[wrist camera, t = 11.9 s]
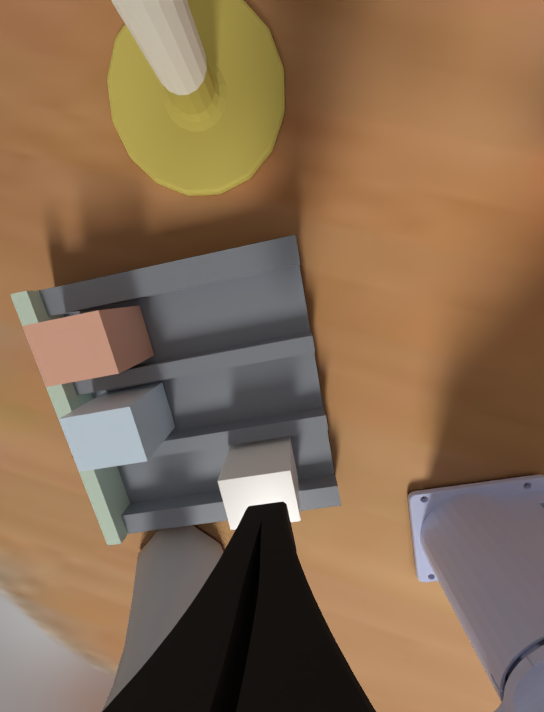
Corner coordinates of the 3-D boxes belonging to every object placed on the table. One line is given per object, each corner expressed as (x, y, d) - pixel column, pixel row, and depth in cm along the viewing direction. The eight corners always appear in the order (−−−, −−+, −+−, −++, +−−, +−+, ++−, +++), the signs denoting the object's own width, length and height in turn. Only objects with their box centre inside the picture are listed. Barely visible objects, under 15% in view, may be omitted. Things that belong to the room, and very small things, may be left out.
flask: (124, 547, 24) (12, 728, 14) (194, 508, 22) (124, 675, 13) (178, 606, 25) (108, 811, 15) (246, 572, 24) (220, 770, 14)
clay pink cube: (139, 305, 18) (98, 310, 14) (154, 355, 18) (119, 373, 14) (79, 317, 18) (22, 325, 14) (96, 366, 19) (46, 387, 15)
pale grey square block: (289, 433, 19) (290, 470, 15) (297, 475, 20) (300, 521, 16) (231, 442, 19) (217, 481, 16) (241, 483, 20) (230, 529, 16)
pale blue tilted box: (162, 382, 19) (129, 406, 15) (175, 426, 19) (147, 461, 15) (104, 392, 19) (58, 419, 15) (120, 435, 20) (79, 471, 16)
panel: (294, 241, 18) (296, 231, 14) (334, 481, 21) (343, 514, 18) (55, 293, 19) (10, 294, 16) (132, 509, 23) (107, 545, 20)
